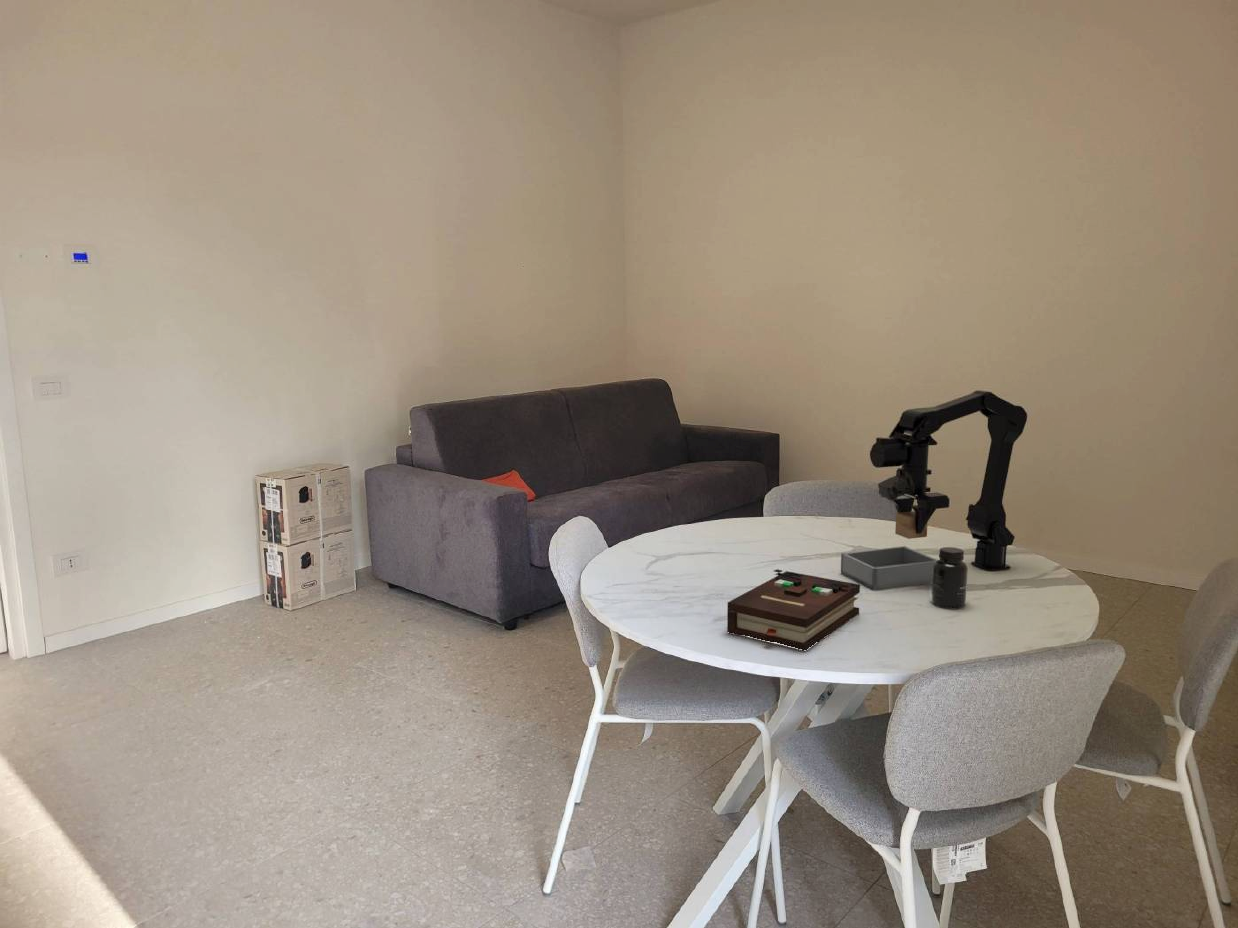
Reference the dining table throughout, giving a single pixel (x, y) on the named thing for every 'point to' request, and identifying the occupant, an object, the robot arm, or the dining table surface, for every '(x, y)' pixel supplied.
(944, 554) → the supplement bottle
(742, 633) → the decorative book
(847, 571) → the tote
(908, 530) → the walnut cube
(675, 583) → the dining table surface
